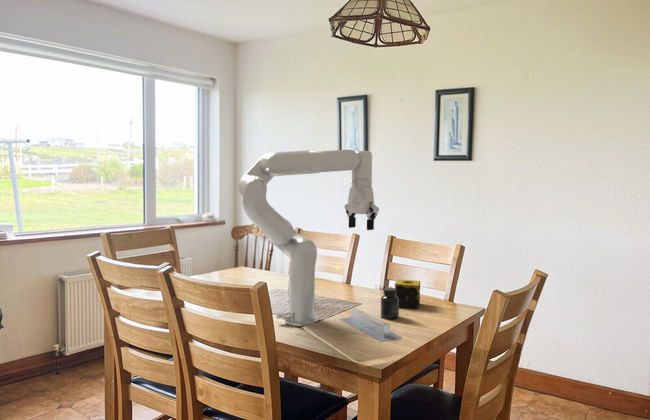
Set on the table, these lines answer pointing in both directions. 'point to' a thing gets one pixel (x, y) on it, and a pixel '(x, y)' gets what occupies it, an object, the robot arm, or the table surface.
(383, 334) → the metal bar
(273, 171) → the robot arm
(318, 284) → the table surface
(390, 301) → the supplement bottle
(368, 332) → the board
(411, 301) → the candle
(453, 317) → the table surface
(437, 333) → the table surface
